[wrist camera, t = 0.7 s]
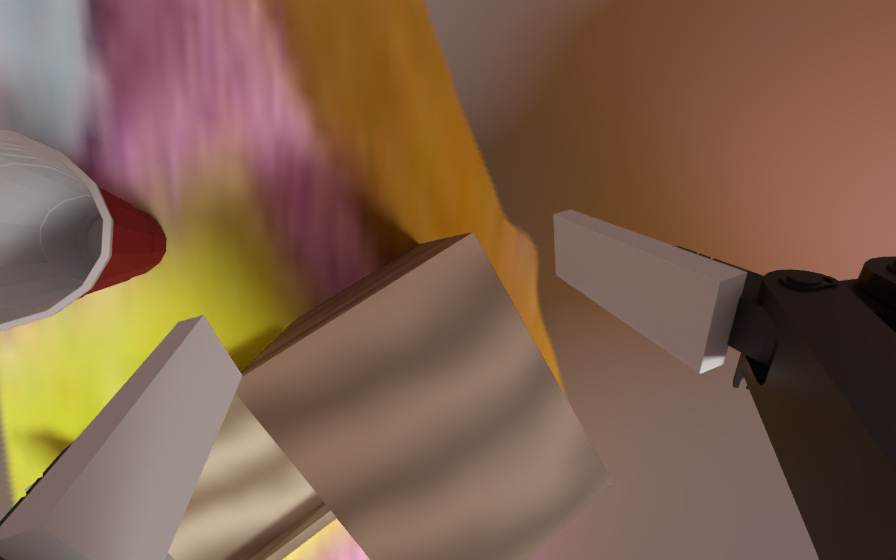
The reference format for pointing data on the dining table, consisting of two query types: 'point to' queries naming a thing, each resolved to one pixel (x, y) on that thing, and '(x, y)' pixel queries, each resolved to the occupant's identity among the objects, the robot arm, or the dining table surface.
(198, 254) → the dining table surface
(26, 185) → the plastic cup
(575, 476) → the block
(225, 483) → the tray
